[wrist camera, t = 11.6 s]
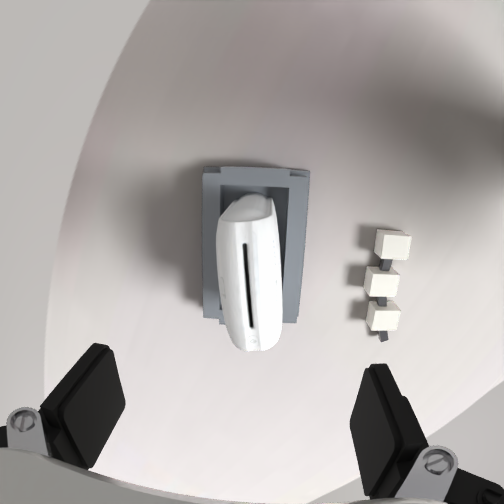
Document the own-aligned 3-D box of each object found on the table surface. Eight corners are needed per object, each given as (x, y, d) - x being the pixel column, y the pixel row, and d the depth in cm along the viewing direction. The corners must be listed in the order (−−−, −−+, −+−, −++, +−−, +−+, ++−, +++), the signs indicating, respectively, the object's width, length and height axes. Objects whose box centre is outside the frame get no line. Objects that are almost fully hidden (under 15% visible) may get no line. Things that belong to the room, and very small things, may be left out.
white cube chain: (405, 231, 31) (414, 237, 28) (385, 336, 34) (391, 346, 32) (371, 228, 31) (378, 234, 29) (354, 336, 34) (358, 347, 32)
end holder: (308, 169, 30) (313, 170, 27) (297, 314, 34) (299, 328, 31) (205, 165, 30) (198, 166, 27) (205, 308, 34) (199, 322, 31)
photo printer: (281, 292, 33) (285, 363, 21) (239, 294, 33) (223, 365, 21) (276, 190, 30) (279, 211, 18) (230, 193, 30) (204, 216, 18)
